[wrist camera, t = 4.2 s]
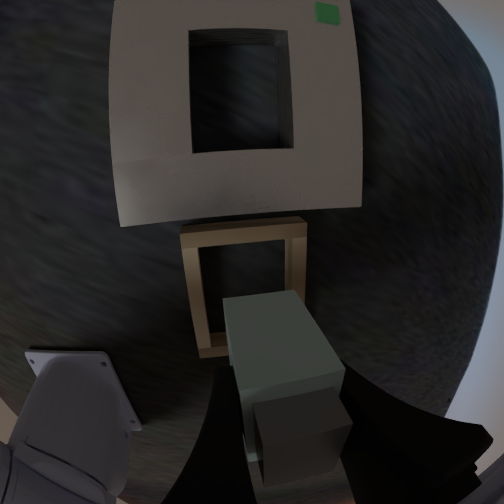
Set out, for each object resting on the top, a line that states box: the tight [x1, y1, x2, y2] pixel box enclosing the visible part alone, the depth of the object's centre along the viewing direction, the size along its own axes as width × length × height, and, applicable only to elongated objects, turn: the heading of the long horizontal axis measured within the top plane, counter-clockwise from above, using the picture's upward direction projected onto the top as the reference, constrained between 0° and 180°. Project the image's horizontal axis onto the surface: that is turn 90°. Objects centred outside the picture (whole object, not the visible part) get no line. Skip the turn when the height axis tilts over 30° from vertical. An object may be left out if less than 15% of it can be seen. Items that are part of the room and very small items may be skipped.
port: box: [109, 0, 363, 227], centre depth 12 cm, size 12×12×3 cm
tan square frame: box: [180, 216, 307, 358], centre depth 17 cm, size 8×7×2 cm
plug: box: [223, 290, 353, 487], centre depth 9 cm, size 4×3×6 cm, turn 2°
